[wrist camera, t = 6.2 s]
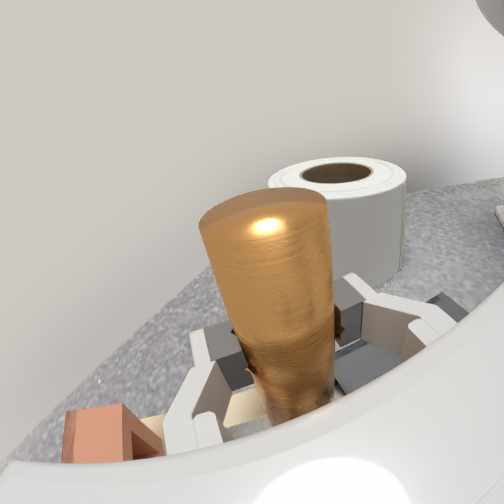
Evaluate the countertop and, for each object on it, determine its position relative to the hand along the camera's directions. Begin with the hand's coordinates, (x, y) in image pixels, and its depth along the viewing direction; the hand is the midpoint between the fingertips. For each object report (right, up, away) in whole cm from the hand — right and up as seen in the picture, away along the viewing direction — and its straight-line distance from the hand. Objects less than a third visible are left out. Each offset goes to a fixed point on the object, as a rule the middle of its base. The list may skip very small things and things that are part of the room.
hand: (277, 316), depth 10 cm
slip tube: (+5, -8, +4) cm, 10 cm away
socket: (-8, -13, +3) cm, 16 cm away
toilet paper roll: (+11, +2, +24) cm, 26 cm away
